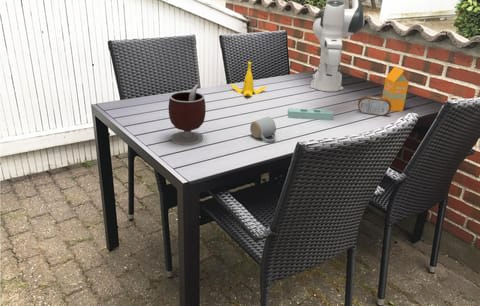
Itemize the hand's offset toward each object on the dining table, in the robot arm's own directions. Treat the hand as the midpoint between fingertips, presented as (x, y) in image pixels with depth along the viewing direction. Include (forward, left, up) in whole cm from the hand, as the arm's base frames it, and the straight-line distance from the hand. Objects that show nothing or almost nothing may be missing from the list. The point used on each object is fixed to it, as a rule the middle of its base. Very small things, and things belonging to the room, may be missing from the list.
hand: (327, 73), depth 186 cm
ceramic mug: (+30, -27, -21) cm, 45 cm away
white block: (0, 0, -4) cm, 4 cm away
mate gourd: (+35, -57, -20) cm, 70 cm away
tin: (-6, +25, -20) cm, 33 cm away
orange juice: (-17, +37, -20) cm, 46 cm away
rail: (+3, -6, -20) cm, 21 cm away
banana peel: (-31, -33, -21) cm, 50 cm away
